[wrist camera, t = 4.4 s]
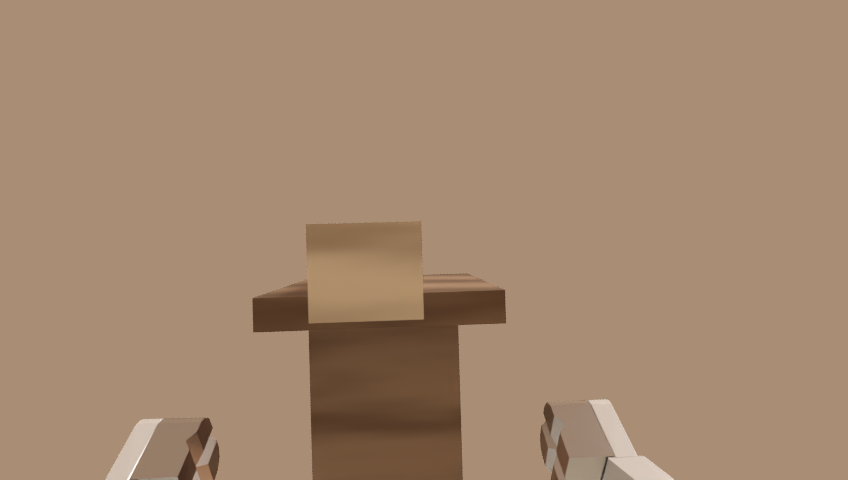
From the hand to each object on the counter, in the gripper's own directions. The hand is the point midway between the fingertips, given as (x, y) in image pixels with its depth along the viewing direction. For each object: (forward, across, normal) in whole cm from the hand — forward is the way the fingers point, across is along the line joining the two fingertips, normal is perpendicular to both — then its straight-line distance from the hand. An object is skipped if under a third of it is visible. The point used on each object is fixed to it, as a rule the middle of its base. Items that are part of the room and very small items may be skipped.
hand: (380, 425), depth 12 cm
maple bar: (+13, 0, -5) cm, 14 cm away
